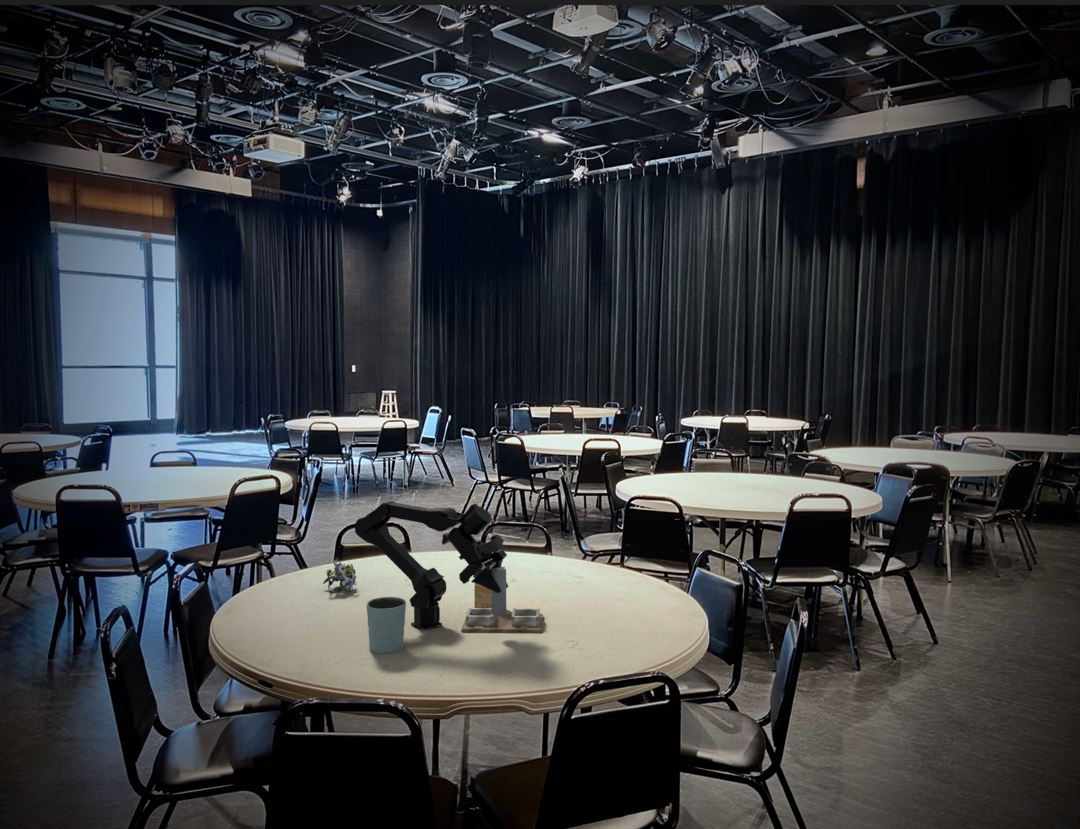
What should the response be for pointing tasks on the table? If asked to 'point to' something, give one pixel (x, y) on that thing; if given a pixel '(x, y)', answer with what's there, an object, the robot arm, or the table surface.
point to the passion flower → (342, 576)
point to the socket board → (503, 621)
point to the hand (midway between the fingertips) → (503, 590)
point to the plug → (499, 598)
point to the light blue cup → (386, 624)
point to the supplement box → (482, 596)
